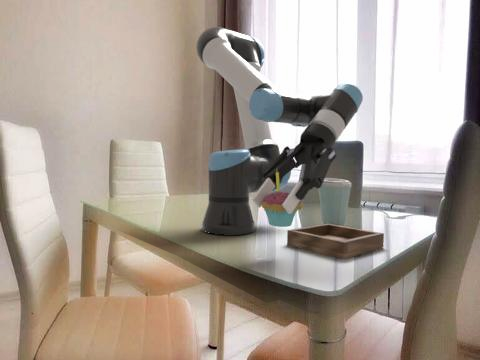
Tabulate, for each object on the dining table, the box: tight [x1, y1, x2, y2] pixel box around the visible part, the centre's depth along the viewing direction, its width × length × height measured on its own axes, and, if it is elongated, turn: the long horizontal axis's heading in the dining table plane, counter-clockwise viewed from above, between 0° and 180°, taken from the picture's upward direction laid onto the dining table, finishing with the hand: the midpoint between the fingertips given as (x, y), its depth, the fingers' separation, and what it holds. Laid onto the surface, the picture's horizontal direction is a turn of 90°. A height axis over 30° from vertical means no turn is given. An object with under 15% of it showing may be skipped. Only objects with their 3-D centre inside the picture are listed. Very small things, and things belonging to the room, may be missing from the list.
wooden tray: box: [286, 224, 385, 260], centre depth 85 cm, size 16×16×4 cm
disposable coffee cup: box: [317, 177, 352, 226], centre depth 113 cm, size 11×11×15 cm
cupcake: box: [261, 169, 303, 228], centre depth 76 cm, size 9×8×12 cm
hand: (270, 206), depth 74 cm, fingers closed on cupcake, 8 cm apart
